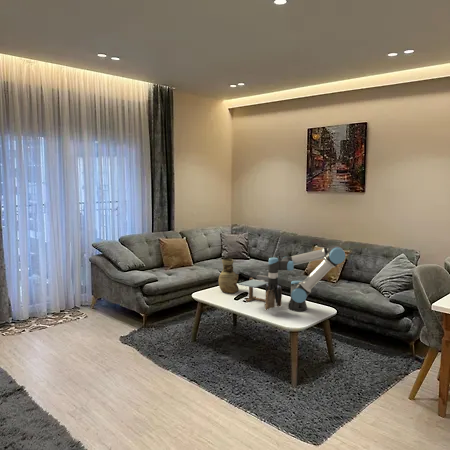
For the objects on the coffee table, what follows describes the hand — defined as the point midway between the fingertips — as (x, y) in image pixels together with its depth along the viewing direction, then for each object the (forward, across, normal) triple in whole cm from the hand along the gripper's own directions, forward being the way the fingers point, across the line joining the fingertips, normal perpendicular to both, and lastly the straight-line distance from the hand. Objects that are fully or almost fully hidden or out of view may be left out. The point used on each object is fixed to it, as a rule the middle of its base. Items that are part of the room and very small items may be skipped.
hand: (272, 305), depth 318 cm
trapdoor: (-10, +21, -11) cm, 26 cm away
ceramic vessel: (+5, +61, -27) cm, 67 cm away
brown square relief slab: (+2, 0, 0) cm, 2 cm away
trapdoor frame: (+5, +21, -17) cm, 28 cm away
